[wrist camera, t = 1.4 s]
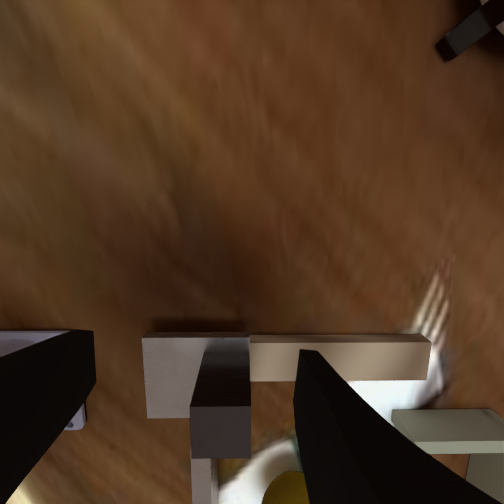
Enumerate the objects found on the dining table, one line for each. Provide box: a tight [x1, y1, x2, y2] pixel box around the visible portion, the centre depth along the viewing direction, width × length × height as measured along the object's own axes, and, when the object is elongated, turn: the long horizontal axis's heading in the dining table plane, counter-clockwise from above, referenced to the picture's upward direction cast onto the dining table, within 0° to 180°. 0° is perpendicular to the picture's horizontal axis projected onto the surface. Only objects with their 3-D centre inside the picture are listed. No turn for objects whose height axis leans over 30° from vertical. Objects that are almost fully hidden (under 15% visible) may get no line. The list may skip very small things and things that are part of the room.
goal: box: [391, 409, 504, 504], centre depth 22 cm, size 10×12×4 cm
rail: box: [249, 334, 432, 381], centre depth 21 cm, size 18×3×1 cm, turn 89°
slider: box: [142, 332, 251, 504], centre depth 18 cm, size 7×16×7 cm, turn 179°
